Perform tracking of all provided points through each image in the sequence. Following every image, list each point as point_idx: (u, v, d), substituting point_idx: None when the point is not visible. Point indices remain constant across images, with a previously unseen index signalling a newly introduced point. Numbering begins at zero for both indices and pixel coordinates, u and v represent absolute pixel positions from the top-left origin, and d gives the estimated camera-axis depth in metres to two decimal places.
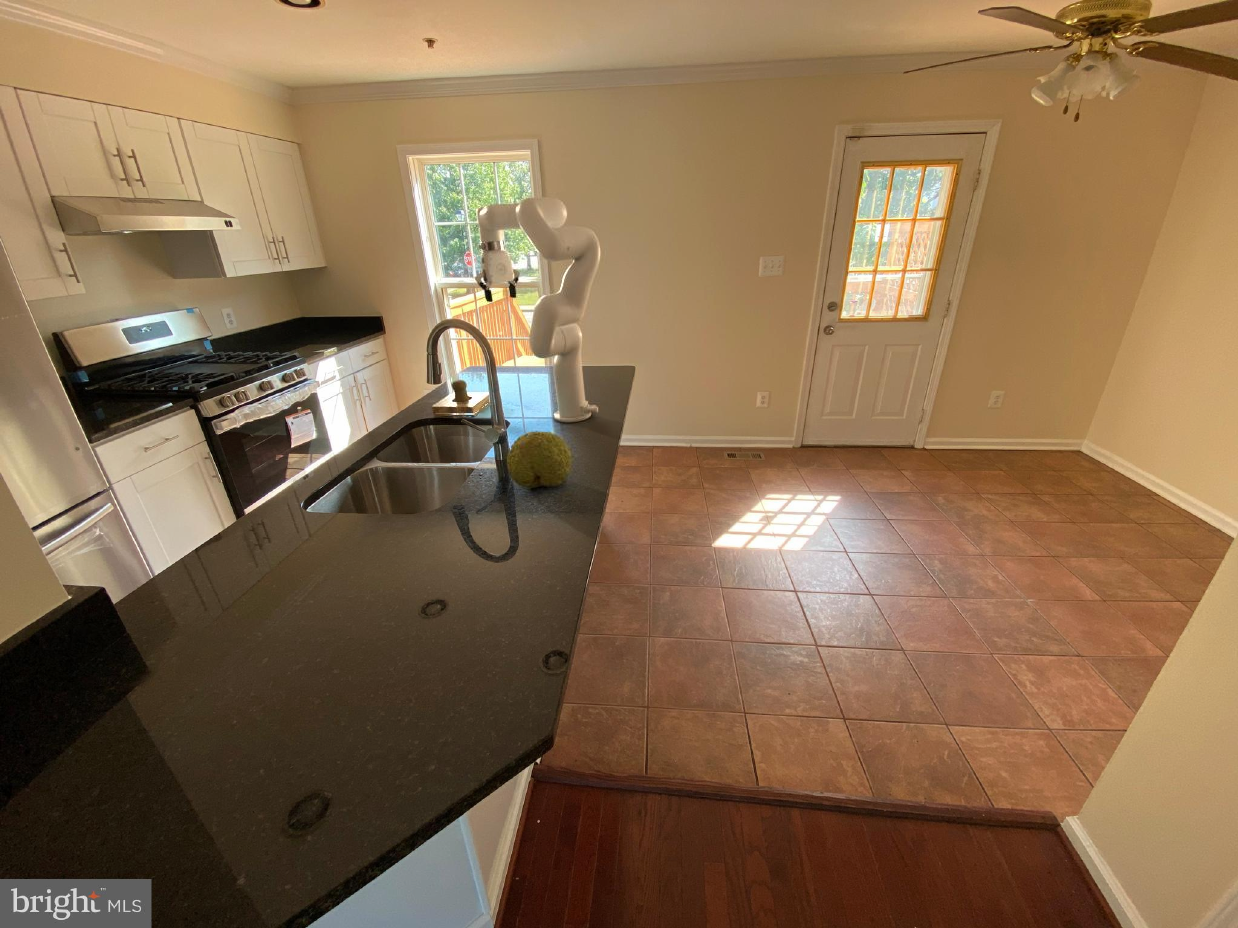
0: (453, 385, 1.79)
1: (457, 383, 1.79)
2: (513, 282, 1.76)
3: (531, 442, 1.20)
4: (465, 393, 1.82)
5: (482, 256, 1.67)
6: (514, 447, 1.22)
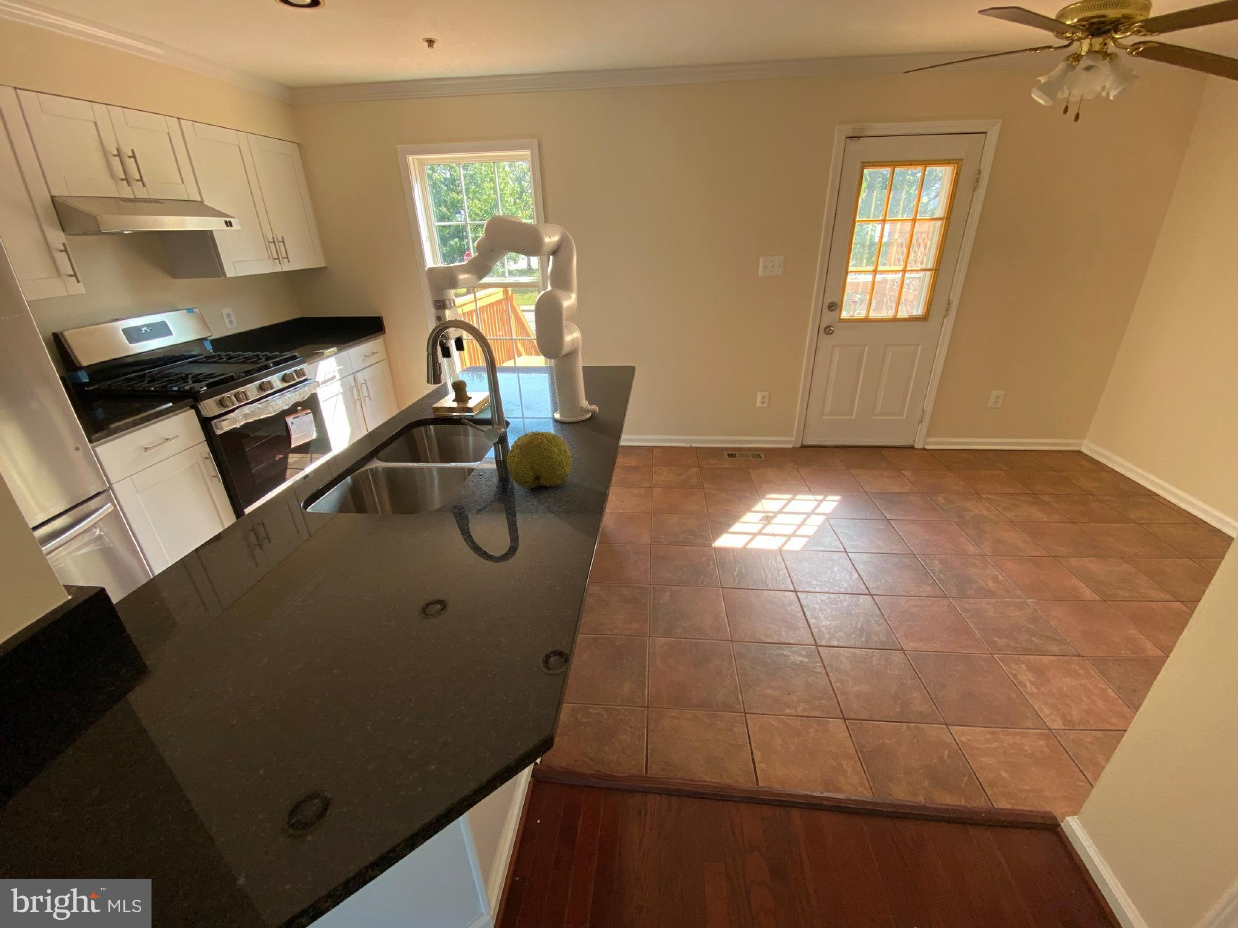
0: (453, 385, 1.79)
1: (457, 383, 1.79)
2: (461, 336, 1.79)
3: (531, 442, 1.20)
4: (465, 393, 1.82)
5: (437, 314, 1.66)
6: (514, 447, 1.22)
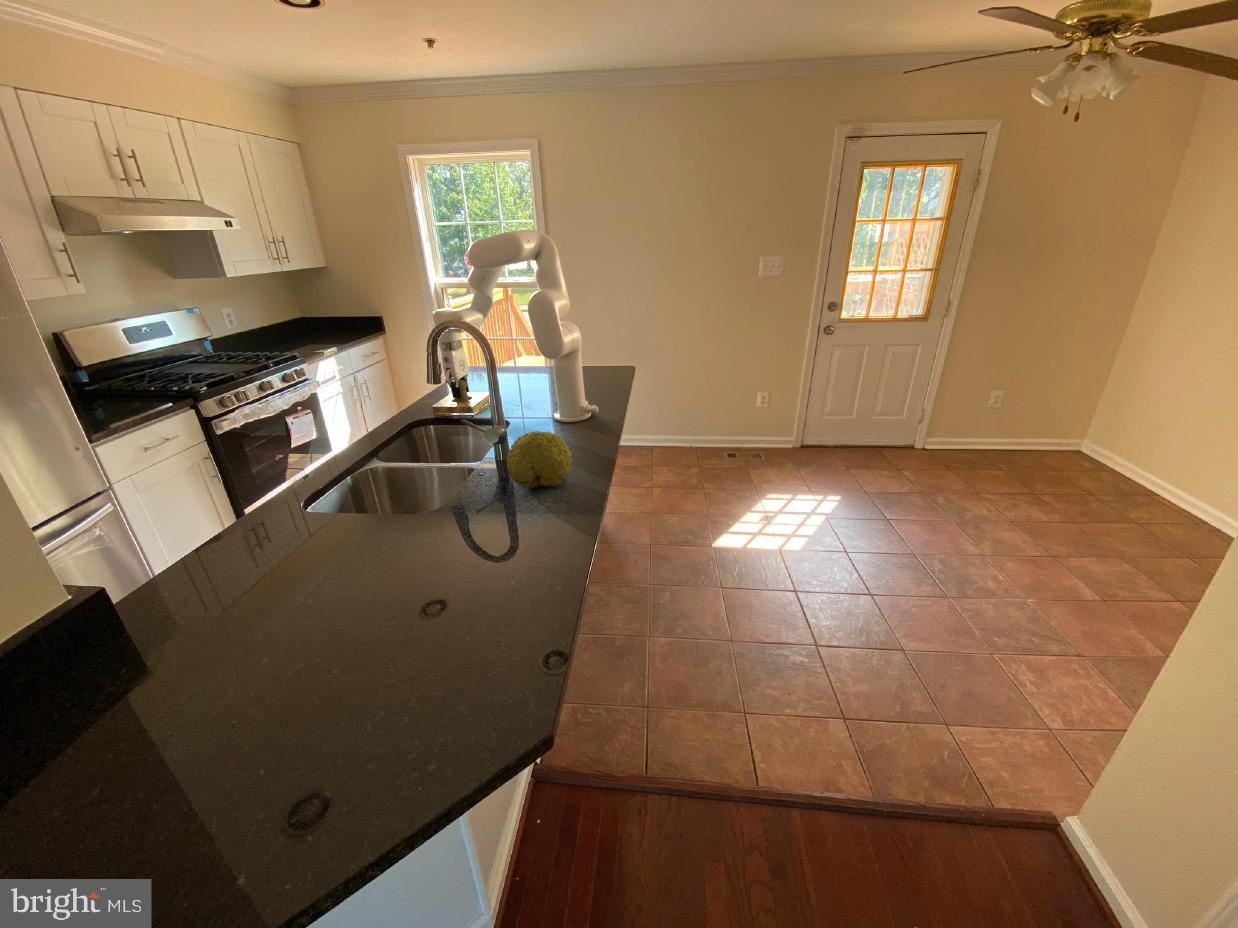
0: None
1: None
2: (465, 378, 1.83)
3: (531, 442, 1.20)
4: (465, 393, 1.82)
5: (445, 355, 1.72)
6: (514, 447, 1.22)
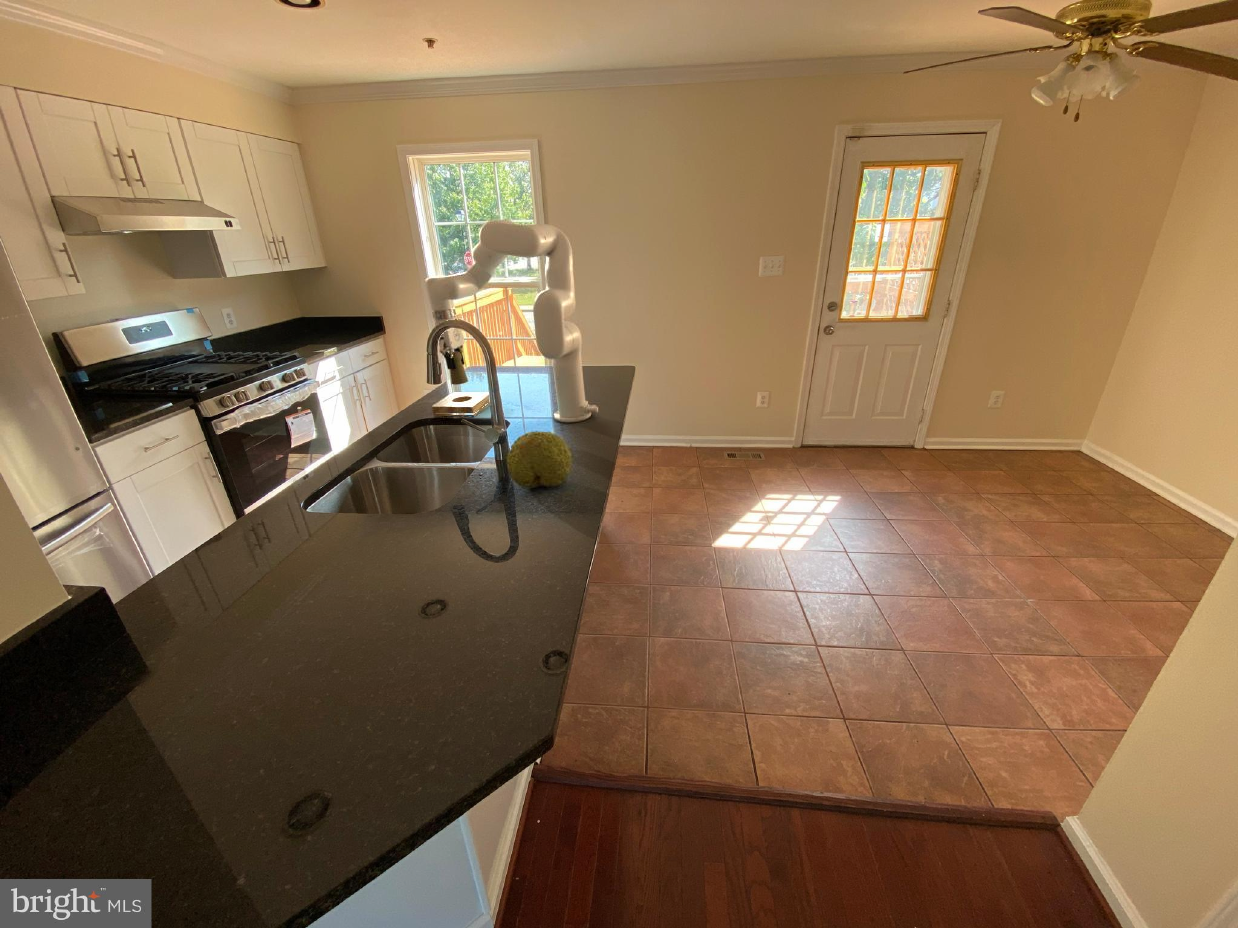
0: None
1: None
2: (460, 350, 1.78)
3: (531, 442, 1.20)
4: (460, 365, 1.77)
5: (438, 324, 1.68)
6: (514, 447, 1.22)
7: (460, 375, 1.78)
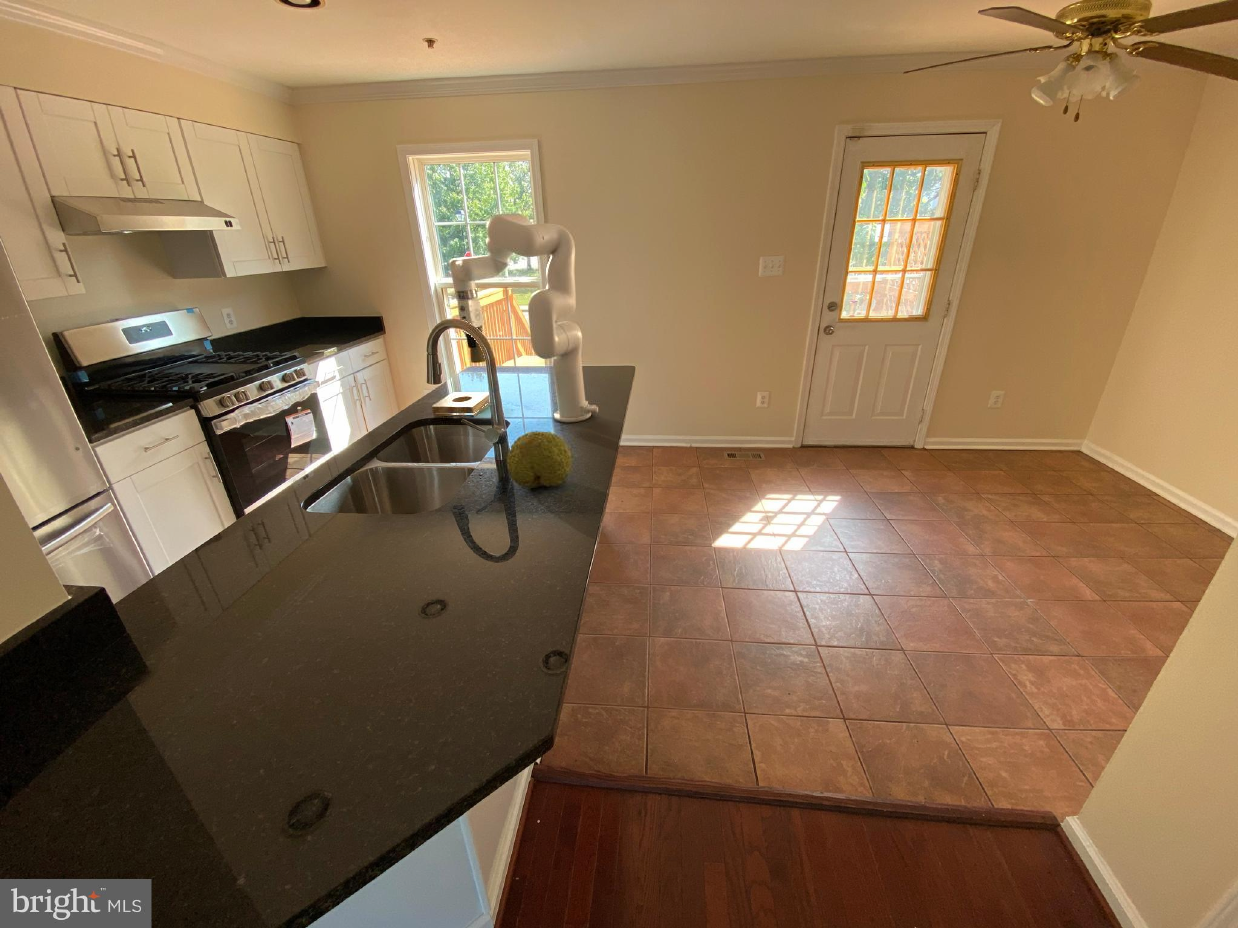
0: None
1: None
2: (480, 329, 1.87)
3: (531, 442, 1.20)
4: None
5: (461, 304, 1.76)
6: (514, 447, 1.22)
7: (480, 354, 1.86)
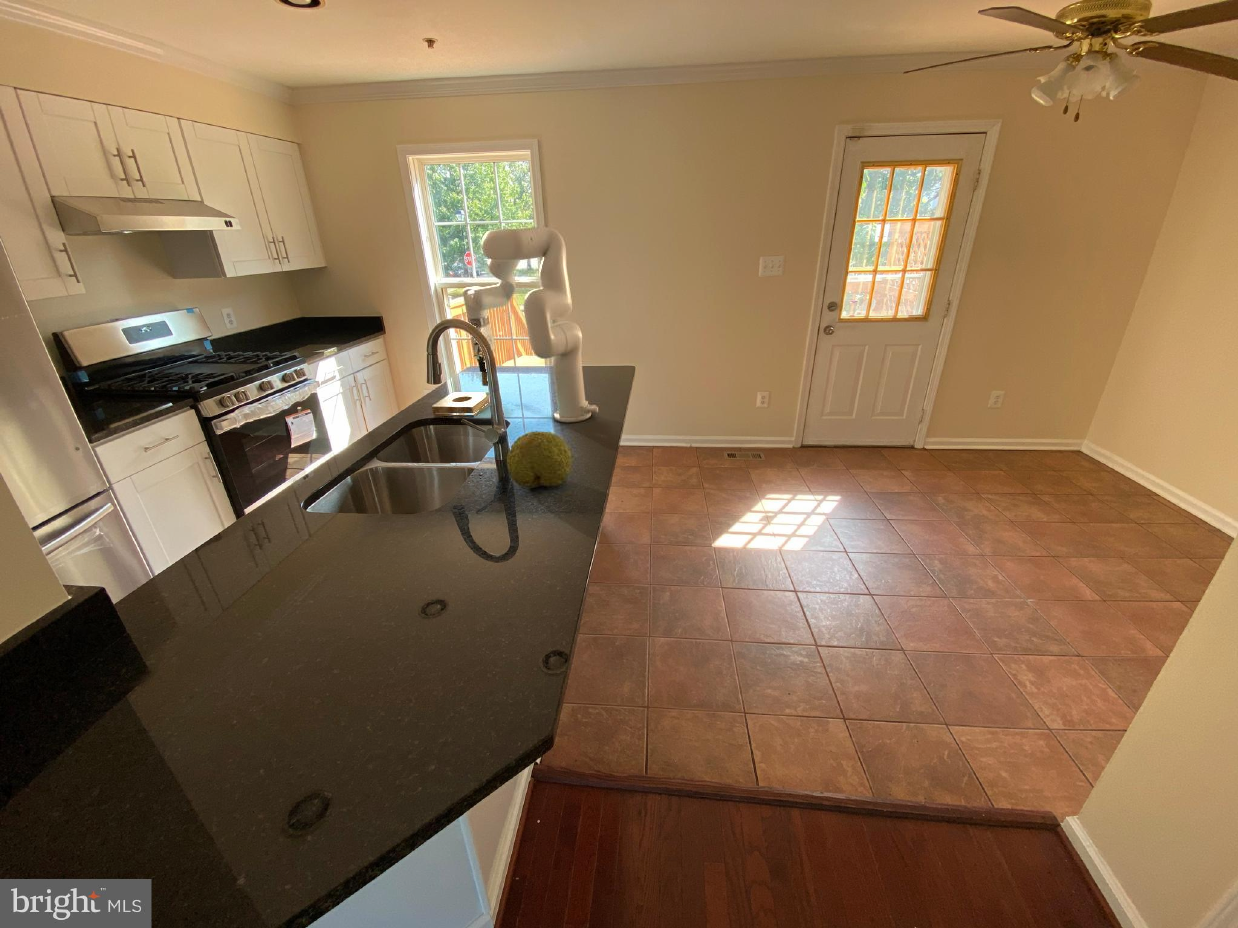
0: None
1: None
2: None
3: (531, 442, 1.20)
4: None
5: None
6: (514, 447, 1.22)
7: None
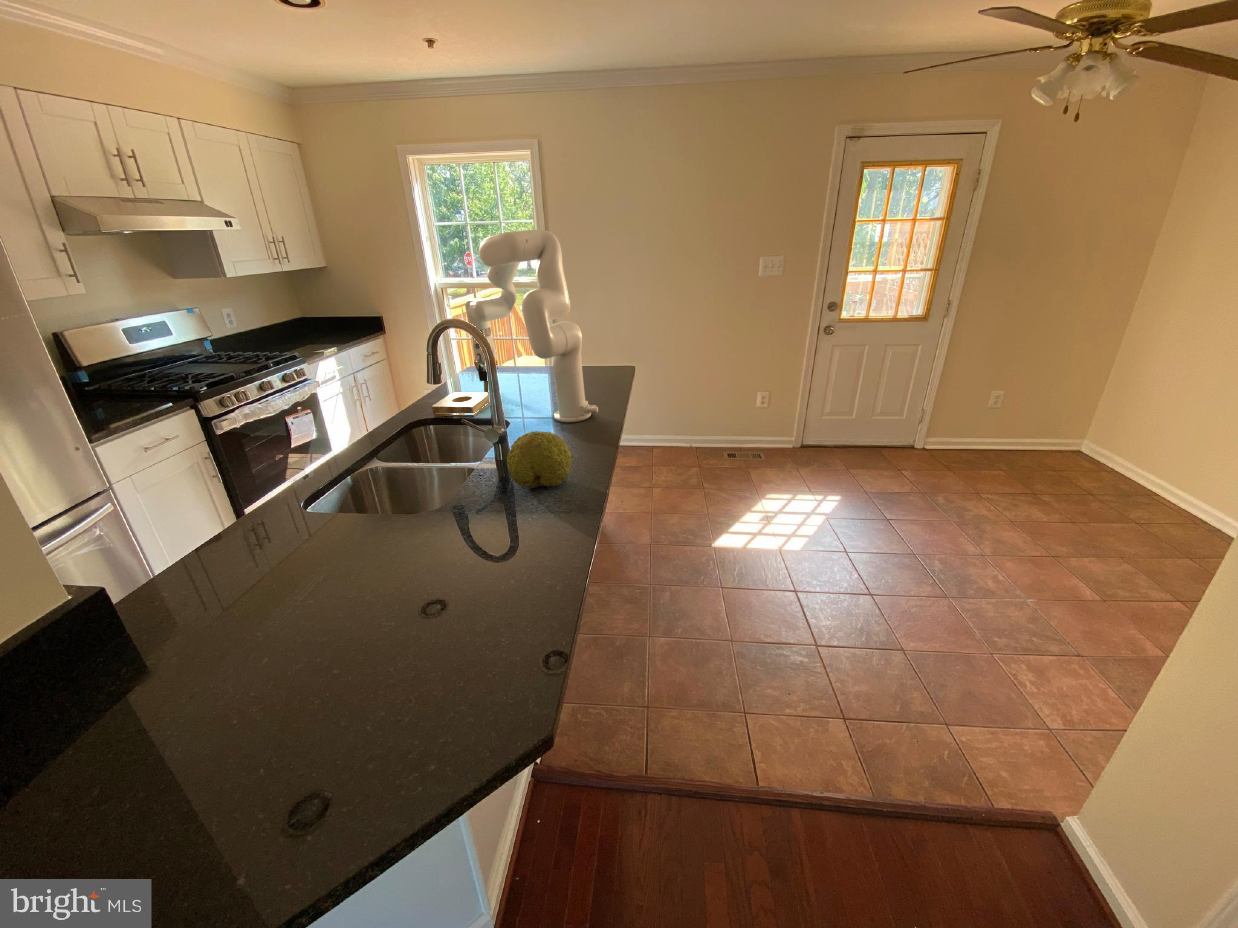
0: None
1: None
2: None
3: (531, 442, 1.20)
4: None
5: (476, 342, 1.85)
6: (514, 447, 1.22)
7: None
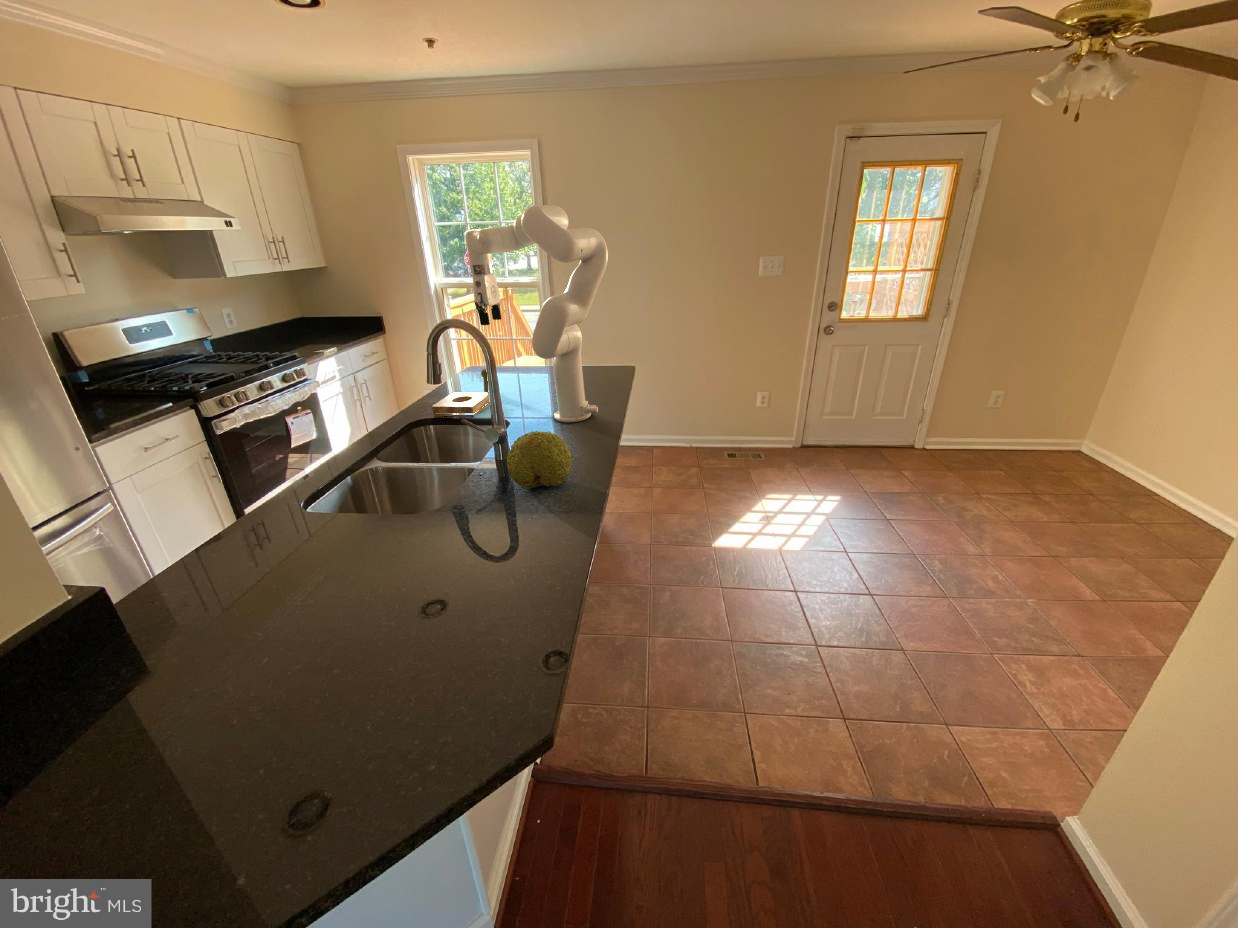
0: (482, 372, 1.92)
1: None
2: (498, 304, 1.76)
3: (531, 442, 1.20)
4: None
5: (477, 279, 1.64)
6: (514, 447, 1.22)
7: None
